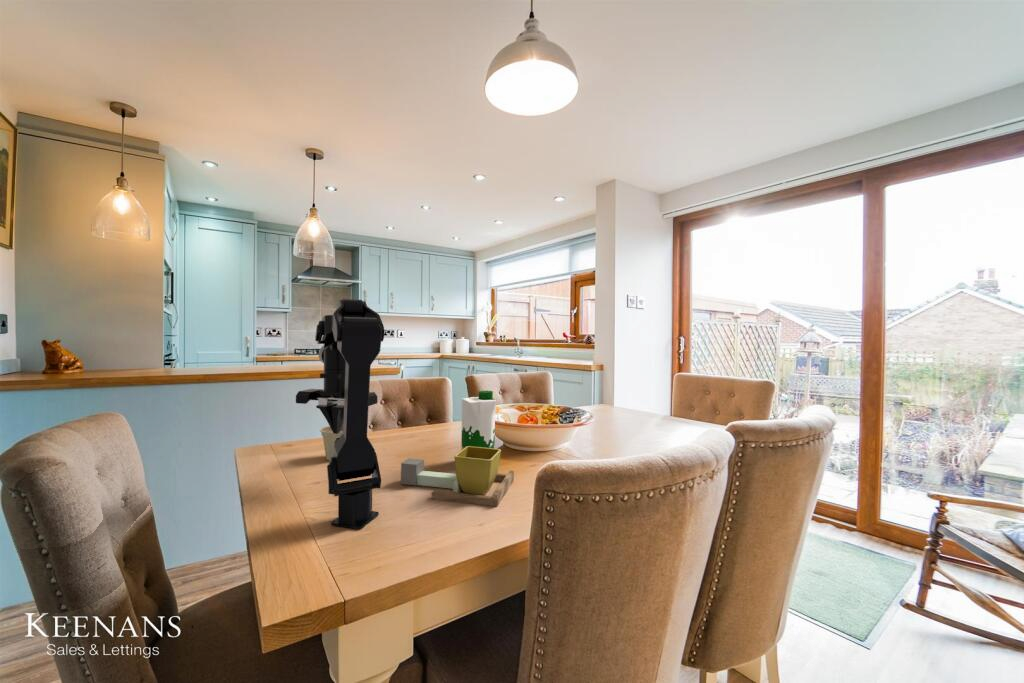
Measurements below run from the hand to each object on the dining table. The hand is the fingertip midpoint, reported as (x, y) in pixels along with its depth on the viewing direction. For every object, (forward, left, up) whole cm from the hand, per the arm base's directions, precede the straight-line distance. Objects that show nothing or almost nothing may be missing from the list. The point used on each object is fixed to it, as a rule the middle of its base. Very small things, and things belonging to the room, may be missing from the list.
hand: (336, 433), depth 99 cm
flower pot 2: (+5, -34, -12) cm, 37 cm away
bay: (+5, -33, -12) cm, 35 cm away
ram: (+5, -23, -12) cm, 27 cm away
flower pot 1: (+17, +12, -12) cm, 24 cm away
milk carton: (+24, -28, -12) cm, 39 cm away
